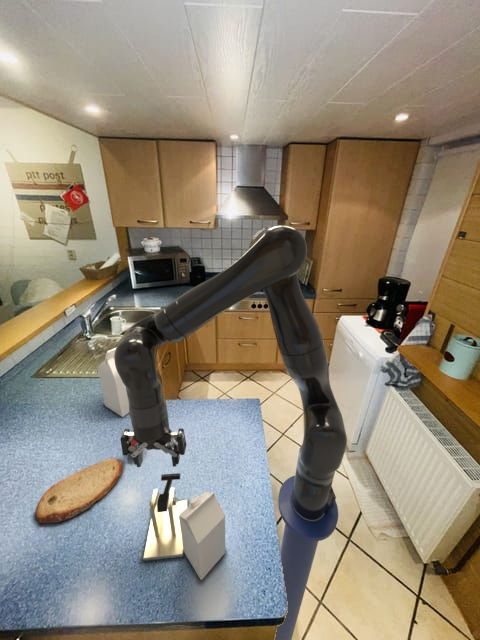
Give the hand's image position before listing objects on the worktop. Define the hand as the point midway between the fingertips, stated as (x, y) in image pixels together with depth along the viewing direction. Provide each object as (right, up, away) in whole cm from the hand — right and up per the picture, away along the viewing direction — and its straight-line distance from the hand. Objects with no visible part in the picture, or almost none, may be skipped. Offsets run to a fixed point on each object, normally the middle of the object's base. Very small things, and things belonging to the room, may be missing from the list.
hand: (157, 463), depth 61 cm
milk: (-27, +1, +44) cm, 51 cm away
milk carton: (+12, -21, -1) cm, 24 cm away
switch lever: (+2, -10, +3) cm, 10 cm away
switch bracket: (+2, -18, +3) cm, 19 cm away
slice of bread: (-25, -14, +11) cm, 31 cm away
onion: (-14, -9, +22) cm, 28 cm away
